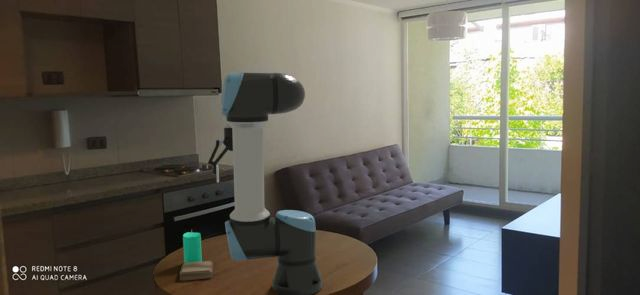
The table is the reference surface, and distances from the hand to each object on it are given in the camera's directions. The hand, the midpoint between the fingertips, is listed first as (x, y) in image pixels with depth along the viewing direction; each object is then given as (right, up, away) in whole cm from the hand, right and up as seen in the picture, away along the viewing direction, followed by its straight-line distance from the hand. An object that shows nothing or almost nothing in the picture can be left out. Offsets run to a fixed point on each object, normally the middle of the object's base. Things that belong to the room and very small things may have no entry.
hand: (235, 181), depth 179 cm
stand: (-8, -29, -26) cm, 40 cm away
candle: (-12, -28, -16) cm, 35 cm away
